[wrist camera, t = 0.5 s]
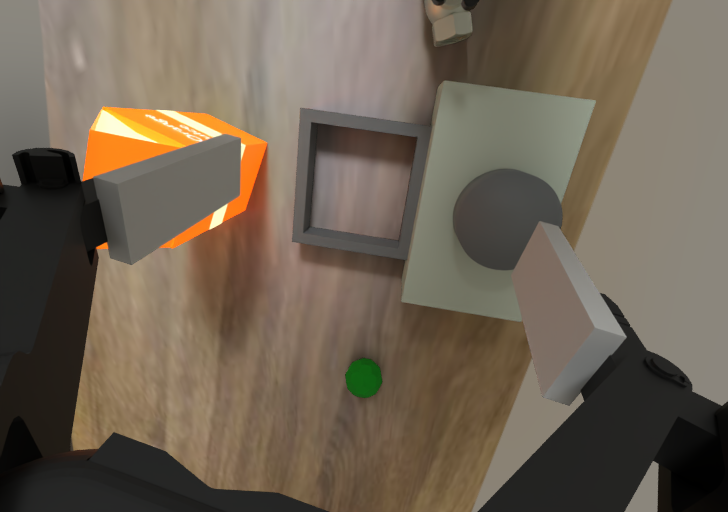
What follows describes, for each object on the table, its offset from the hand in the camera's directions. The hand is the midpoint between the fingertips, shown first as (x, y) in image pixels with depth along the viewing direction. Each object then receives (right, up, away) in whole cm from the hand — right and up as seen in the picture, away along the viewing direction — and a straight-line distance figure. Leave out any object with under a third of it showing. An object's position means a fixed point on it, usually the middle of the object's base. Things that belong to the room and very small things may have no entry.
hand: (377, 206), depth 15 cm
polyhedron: (0, -18, +34) cm, 38 cm away
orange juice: (-17, +9, +26) cm, 32 cm away
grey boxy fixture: (+5, +5, +25) cm, 26 cm away
